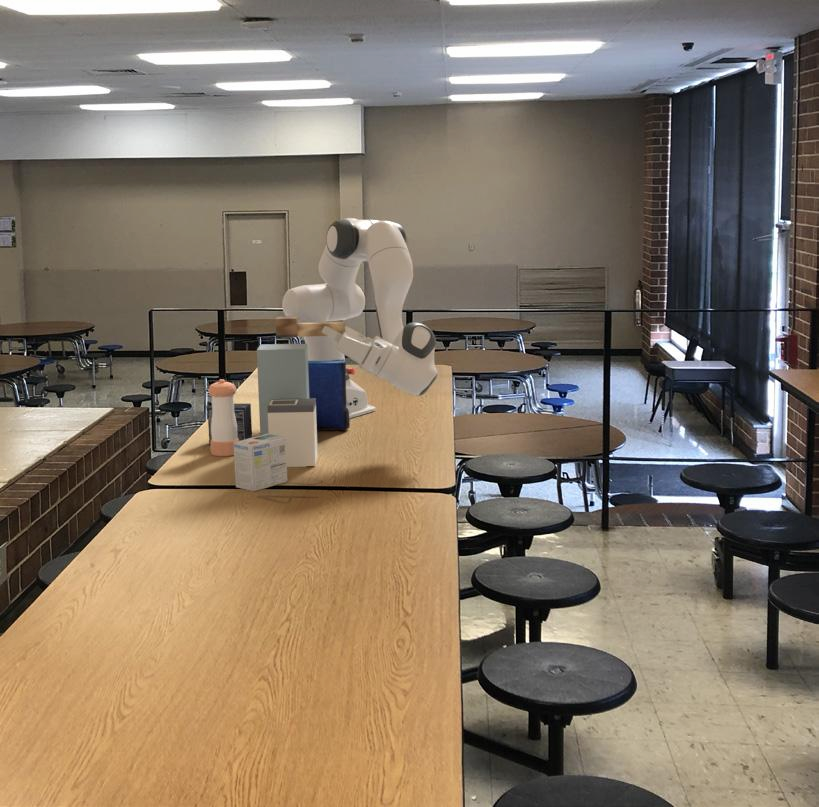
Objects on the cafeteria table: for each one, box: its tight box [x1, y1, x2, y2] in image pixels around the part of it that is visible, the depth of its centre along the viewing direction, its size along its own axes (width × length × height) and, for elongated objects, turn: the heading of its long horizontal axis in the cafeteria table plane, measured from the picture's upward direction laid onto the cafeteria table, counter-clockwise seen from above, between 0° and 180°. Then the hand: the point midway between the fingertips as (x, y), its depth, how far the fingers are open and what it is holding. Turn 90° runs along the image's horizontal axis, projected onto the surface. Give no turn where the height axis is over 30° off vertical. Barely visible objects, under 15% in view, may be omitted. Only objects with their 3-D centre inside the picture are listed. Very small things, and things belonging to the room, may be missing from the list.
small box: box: [206, 403, 253, 447], centre depth 297 cm, size 11×6×10 cm, turn 84°
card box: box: [267, 398, 319, 468], centre depth 274 cm, size 11×10×15 cm
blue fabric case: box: [308, 359, 351, 431], centre depth 310 cm, size 14×5×20 cm, turn 84°
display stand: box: [256, 343, 309, 436], centre depth 286 cm, size 13×11×27 cm
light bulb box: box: [233, 434, 288, 492], centre depth 254 cm, size 11×7×11 cm, turn 141°
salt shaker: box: [207, 378, 239, 457], centre depth 285 cm, size 7×7×19 cm
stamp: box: [275, 315, 346, 339], centre depth 270 cm, size 16×5×4 cm, turn 92°
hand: (323, 327), depth 270 cm, fingers closed on stamp, 3 cm apart
